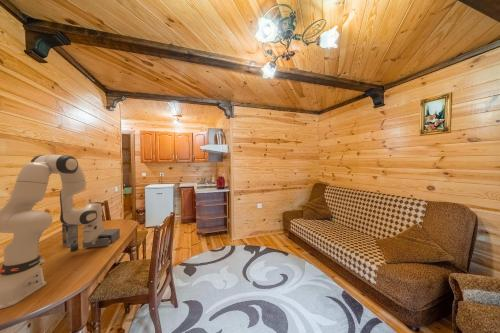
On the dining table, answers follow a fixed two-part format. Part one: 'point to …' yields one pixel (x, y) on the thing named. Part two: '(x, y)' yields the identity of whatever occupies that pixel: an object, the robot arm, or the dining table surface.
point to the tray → (98, 242)
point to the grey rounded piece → (73, 247)
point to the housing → (111, 234)
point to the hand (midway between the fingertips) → (94, 243)
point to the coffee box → (69, 234)
